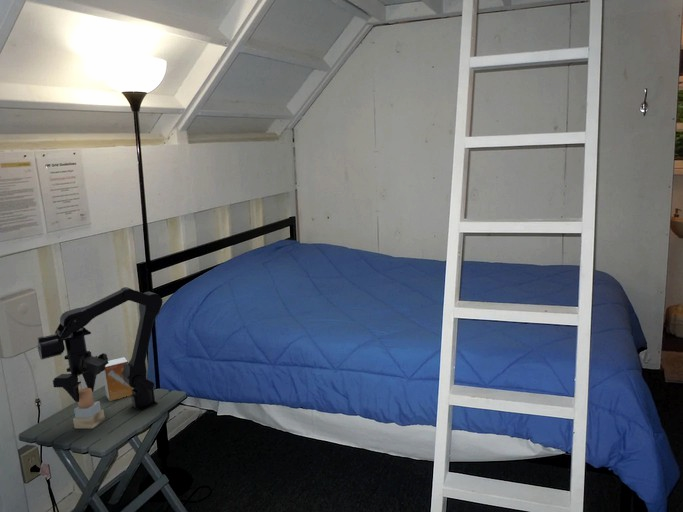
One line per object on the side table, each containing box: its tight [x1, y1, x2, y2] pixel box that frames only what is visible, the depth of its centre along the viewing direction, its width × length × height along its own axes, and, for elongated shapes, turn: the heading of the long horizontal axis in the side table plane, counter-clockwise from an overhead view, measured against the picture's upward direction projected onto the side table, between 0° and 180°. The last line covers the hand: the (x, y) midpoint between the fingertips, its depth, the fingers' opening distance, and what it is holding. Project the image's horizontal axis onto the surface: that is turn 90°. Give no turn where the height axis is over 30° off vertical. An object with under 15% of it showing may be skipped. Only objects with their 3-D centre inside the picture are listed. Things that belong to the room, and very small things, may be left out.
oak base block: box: [72, 409, 106, 429], centre depth 178 cm, size 6×6×4 cm
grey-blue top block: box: [73, 400, 101, 418], centre depth 177 cm, size 6×6×3 cm
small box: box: [102, 356, 133, 402], centre depth 198 cm, size 8×6×13 cm
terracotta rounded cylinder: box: [77, 387, 94, 408], centre depth 177 cm, size 4×4×5 cm
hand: (84, 396), depth 176 cm, fingers open, 7 cm apart
